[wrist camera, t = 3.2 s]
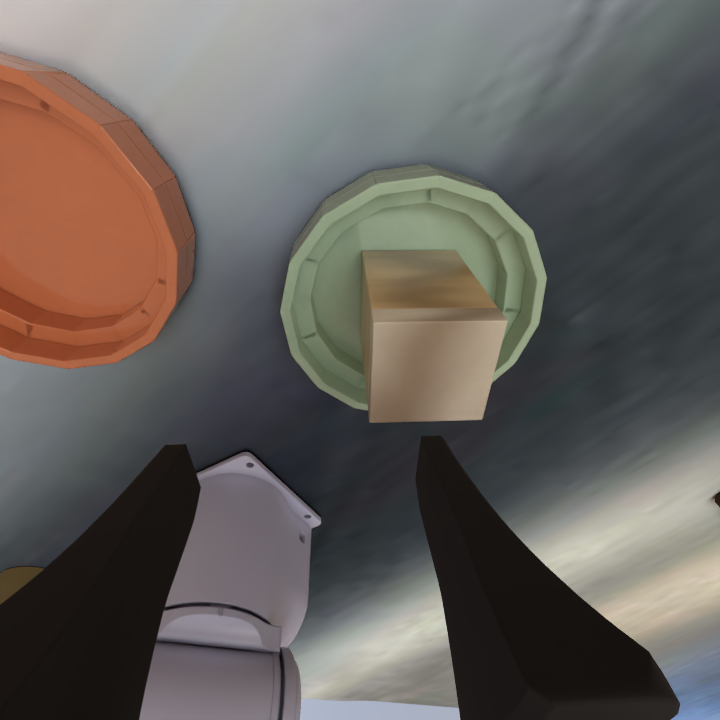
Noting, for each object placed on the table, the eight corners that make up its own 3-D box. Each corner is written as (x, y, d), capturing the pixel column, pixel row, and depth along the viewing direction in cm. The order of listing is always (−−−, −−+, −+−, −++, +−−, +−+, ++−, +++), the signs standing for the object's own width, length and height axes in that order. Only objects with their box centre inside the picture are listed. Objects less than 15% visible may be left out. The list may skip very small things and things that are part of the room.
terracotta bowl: (249, 266, 20) (237, 292, 17) (78, 368, 22) (47, 403, 20) (26, -27, 13) (-44, -51, 11) (-172, 166, 16) (-262, 180, 14)
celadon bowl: (544, 324, 22) (570, 354, 20) (359, 408, 25) (362, 443, 23) (473, 106, 16) (497, 110, 14) (239, 249, 19) (225, 274, 17)
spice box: (456, 249, 19) (508, 320, 14) (443, 331, 22) (482, 420, 16) (361, 249, 19) (373, 322, 13) (359, 332, 22) (369, 423, 16)
